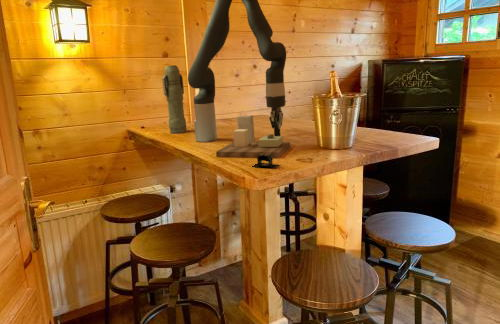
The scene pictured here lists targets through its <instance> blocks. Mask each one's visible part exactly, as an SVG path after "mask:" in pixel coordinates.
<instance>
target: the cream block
mask: <svg viewBox="0 0 500 324" xmlns="http://www.w3.org/2000/svg"><path fill="white" fill-rule="evenodd" d="M232 135H233V142H234V147H248V146H249V137H248V129H238V128H237V129H235V130H233V134H232Z"/></svg>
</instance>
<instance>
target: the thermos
mask: <svg viewBox="0 0 500 324" xmlns="http://www.w3.org/2000/svg"><path fill="white" fill-rule="evenodd" d="M161 81H162V87H163V89H162V90H163V95H164V96H165V100H166V102H167V109H168V117H169V118H168V127H169V131H170V132H169V133H170V134H172V135H173V134H174V135H175V134H176V135H177V134H184V133H187V121H186V118H185V110H184V94H185V90H184V79H183V74H181V73H180V69H179V67H178V66H177V65H176V64H175V65H167V66H165V68H164V75H163V76H162V79H161Z"/></svg>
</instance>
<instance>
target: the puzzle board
mask: <svg viewBox="0 0 500 324" xmlns="http://www.w3.org/2000/svg"><path fill="white" fill-rule="evenodd" d="M290 148H291V142H290V141H283V143H282V144H281V145H280V146H278V147H259V146H258V141H255V142H249V146H248V147H234V141H232V142H230V143H229V144H227V145H225V146H223V147H222V148H220V149H218V150H217V151H215V154H216V158H246V159H247V158H253V159H257V158H258V155H259V154H261V153H266V154H271V156H272V159H280V158H281V157H282V155H284V154H285V153H286V152H287V150H289V149H290Z"/></svg>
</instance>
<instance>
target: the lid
mask: <svg viewBox="0 0 500 324" xmlns="http://www.w3.org/2000/svg"><path fill="white" fill-rule="evenodd" d="M257 142H258V146H259V147H278V146H280V145H281V144H282V143H283V142H284V138H283V136H282V135H281V136H274V133H273V134H267V135H265V136H262V137H261V138H259V139H258V141H257Z"/></svg>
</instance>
